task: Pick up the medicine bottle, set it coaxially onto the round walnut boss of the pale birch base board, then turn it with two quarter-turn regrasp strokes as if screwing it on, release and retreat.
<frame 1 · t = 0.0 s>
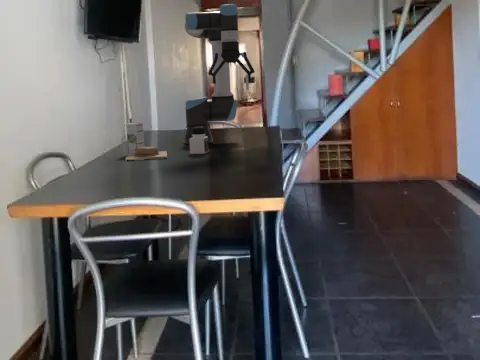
hand: (232, 90, 271), 28 cm above the table, fingers open, 13 cm apart
base board: (146, 156, 277), on the table
syrup box: (136, 154, 290), on the table
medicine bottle: (199, 153, 284), on the table
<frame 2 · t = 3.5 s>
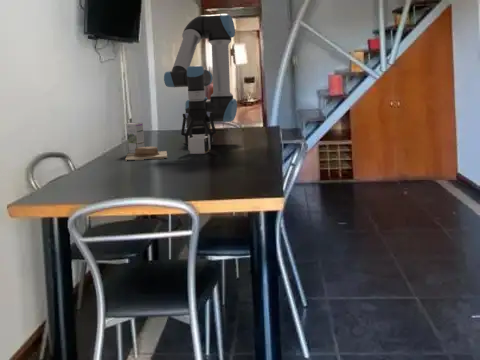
hand: (199, 149, 283), 1 cm above the table, fingers closed on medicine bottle, 8 cm apart
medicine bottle: (199, 153, 284), on the table, touching gripper
everything else where it was.
when the fingers open (6 cm above the table, at t = 9.8 s): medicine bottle stays where it is, resting on base board.
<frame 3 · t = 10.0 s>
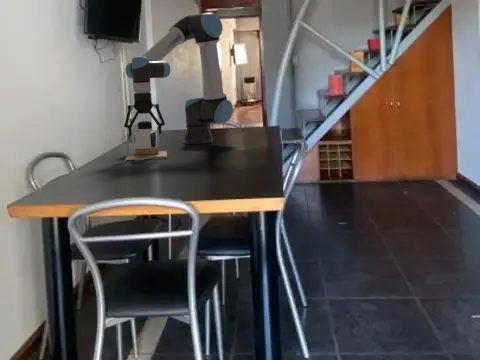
hand: (145, 142, 276), 7 cm above the table, fingers open, 11 cm apart
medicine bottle: (146, 148, 276), point 4 cm above the table, touching base board
everything else where it was.
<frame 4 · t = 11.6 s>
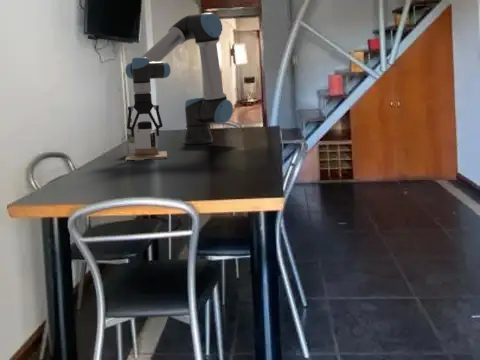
hand: (146, 143, 276), 6 cm above the table, fingers closed on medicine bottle, 8 cm apart
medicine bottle: (146, 148, 276), point 4 cm above the table, touching base board, gripper
everything else where it was.
when the fingers open (6 cm above the table, at t = 12.7 s): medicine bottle stays where it is, resting on base board.
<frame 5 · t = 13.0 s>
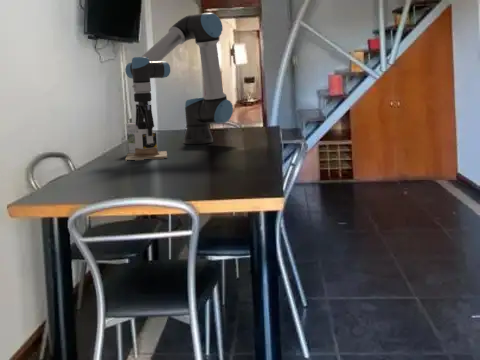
hand: (145, 142, 276), 7 cm above the table, fingers open, 10 cm apart
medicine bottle: (146, 148, 276), point 4 cm above the table, touching base board
everything else where it was.
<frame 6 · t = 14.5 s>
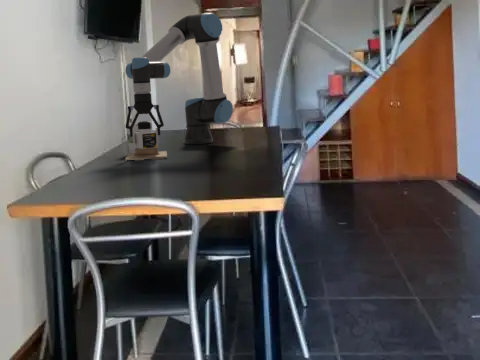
hand: (145, 143, 276), 6 cm above the table, fingers closed on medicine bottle, 9 cm apart
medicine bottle: (146, 148, 276), point 4 cm above the table, touching base board, gripper
everything else where it was.
when the fingers open (6 cm above the table, at t = 15.7 s): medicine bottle stays where it is, resting on base board.
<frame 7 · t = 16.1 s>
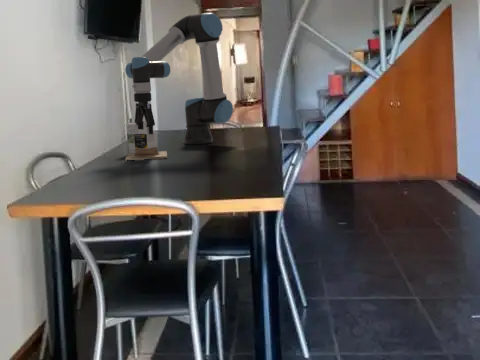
hand: (145, 140, 275), 7 cm above the table, fingers open, 13 cm apart
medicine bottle: (146, 148, 276), point 4 cm above the table, touching base board
everything else where it was.
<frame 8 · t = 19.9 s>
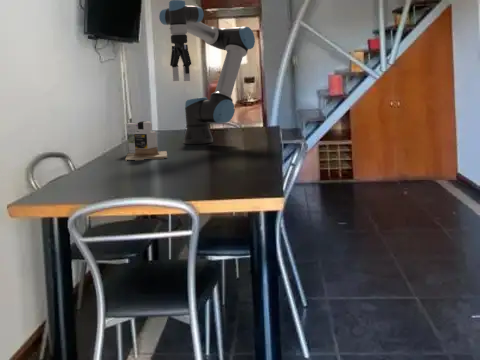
hand: (181, 81, 289), 33 cm above the table, fingers open, 13 cm apart
nothing on the table moved.
at the end: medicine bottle 0.1 cm off-centre on the base board, point 3.8 cm above the base board's base; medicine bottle tilted 0°; the gripper is holding nothing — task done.
